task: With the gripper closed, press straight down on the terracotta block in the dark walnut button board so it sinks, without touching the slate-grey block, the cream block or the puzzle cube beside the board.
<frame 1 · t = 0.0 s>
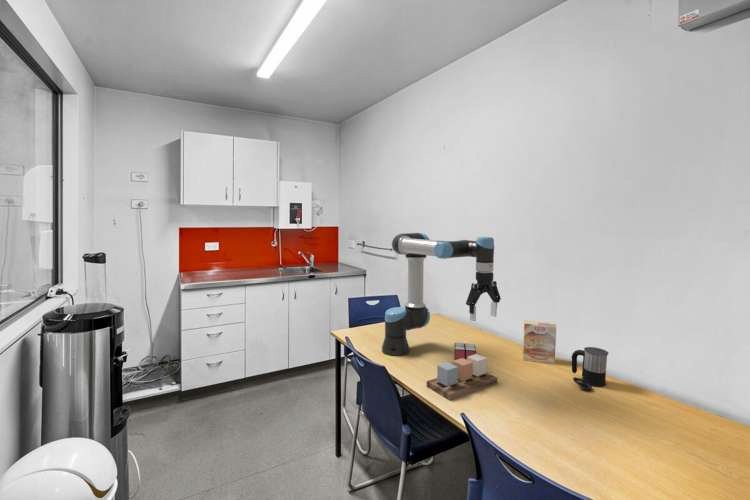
hand: (483, 318, 163), 28 cm above the table, fingers open, 13 cm apart
cream block: (476, 364, 163), point 7 cm above the table, slide at 0.0 cm
slate block: (447, 374, 154), point 7 cm above the table, slide at 0.0 cm
coffeecake box: (538, 360, 187), on the table
milk frother: (589, 385, 159), on the table
puzzle cube: (464, 366, 180), on the table
terracotta block: (462, 369, 159), point 7 cm above the table, slide at 0.0 cm
button board: (462, 384, 159), on the table
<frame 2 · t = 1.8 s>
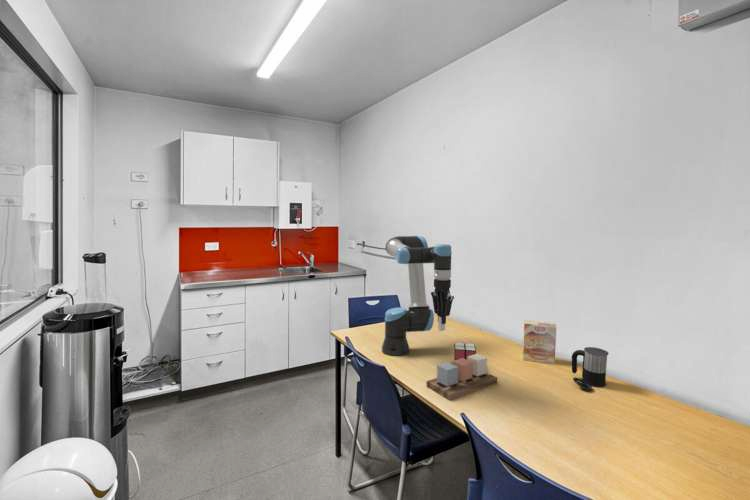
hand: (441, 330, 164), 22 cm above the table, fingers closed
nothing on the table moved.
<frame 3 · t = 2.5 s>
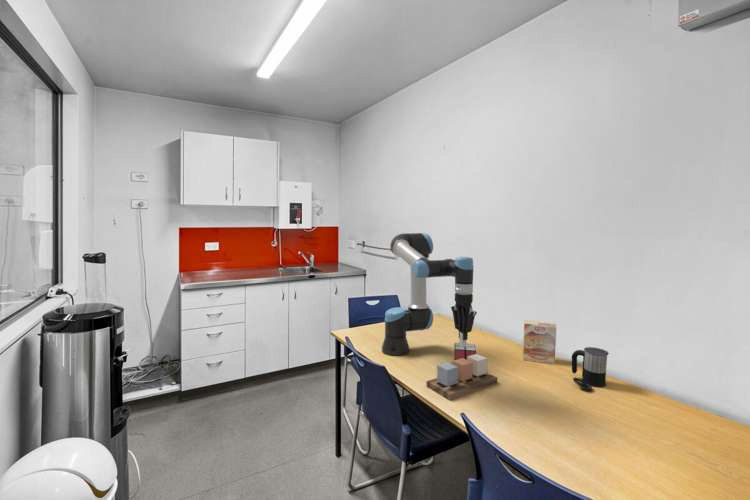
hand: (462, 346, 158), 17 cm above the table, fingers closed
nothing on the table moved.
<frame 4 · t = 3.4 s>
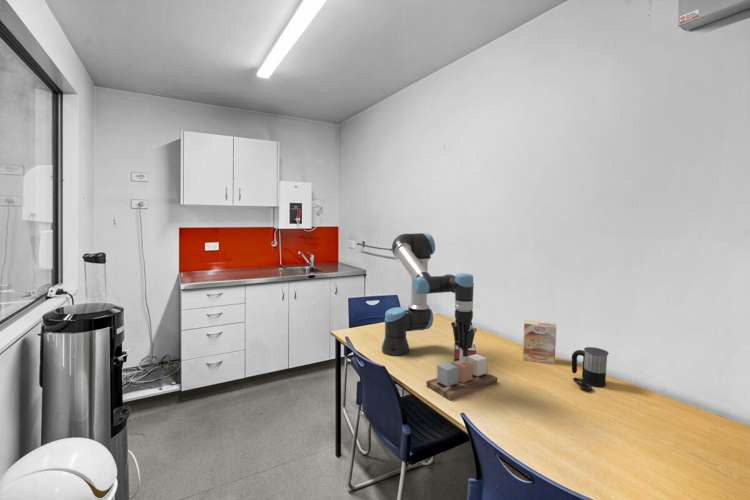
hand: (462, 362, 158), 10 cm above the table, fingers closed
terracotta block: (462, 370, 159), point 6 cm above the table, slide at 0.7 cm, touching gripper
everything else where it was.
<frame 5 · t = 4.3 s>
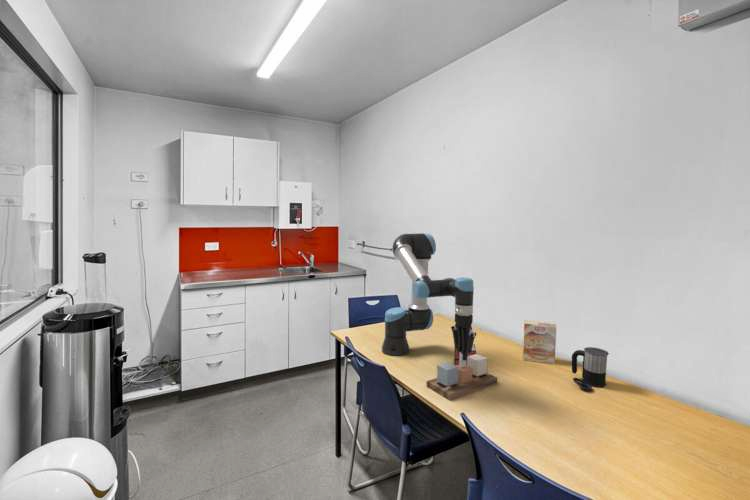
hand: (462, 366, 159), 8 cm above the table, fingers closed
terracotta block: (462, 375, 159), point 4 cm above the table, slide at 2.6 cm
everything else where it was.
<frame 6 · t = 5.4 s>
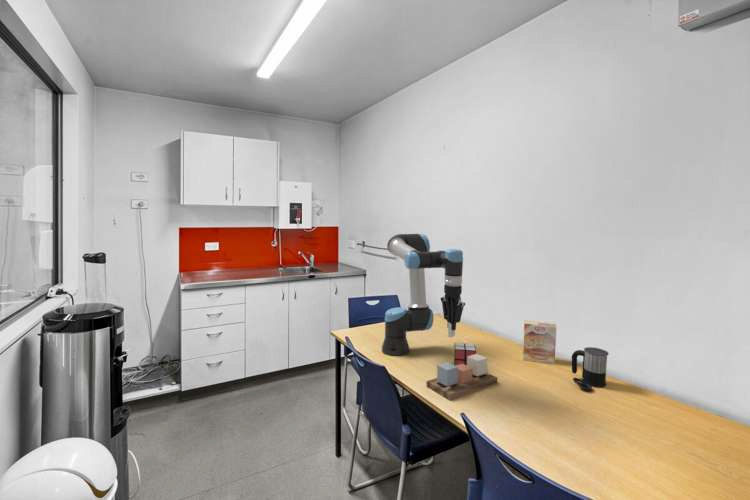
hand: (451, 336, 162), 20 cm above the table, fingers closed
nothing on the table moved.
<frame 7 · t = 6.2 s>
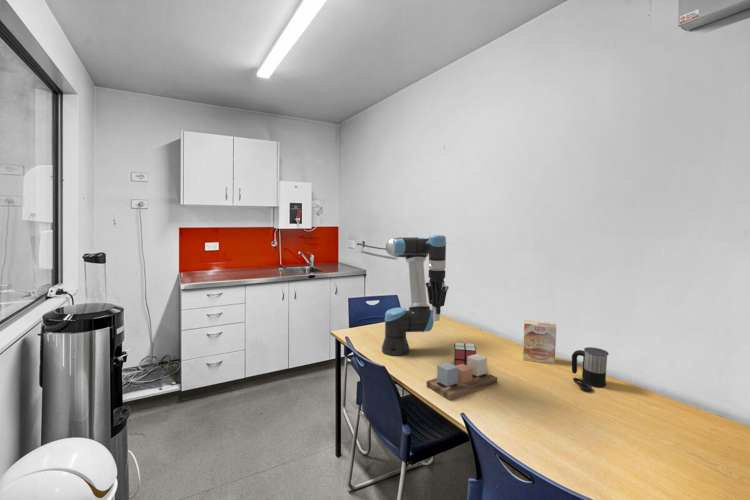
hand: (436, 320, 166), 26 cm above the table, fingers closed
nothing on the table moved.
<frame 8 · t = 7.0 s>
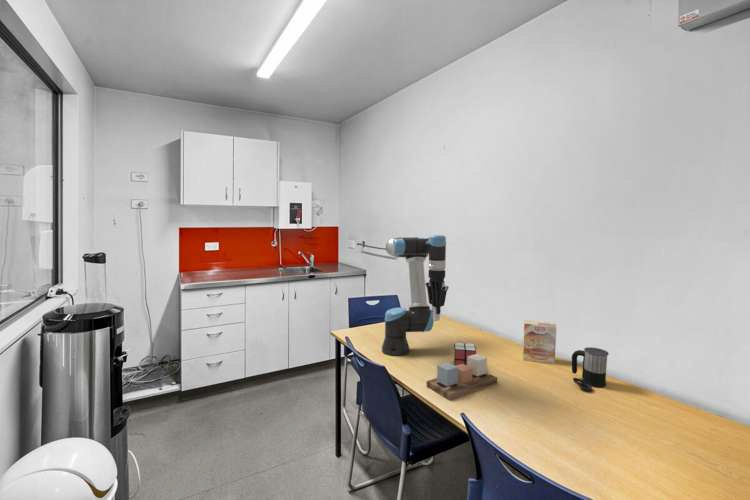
hand: (436, 320, 166), 26 cm above the table, fingers closed
nothing on the table moved.
at the end: terracotta block slide at 2.6 cm; slate block slide at 0.0 cm; cream block slide at 0.0 cm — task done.
